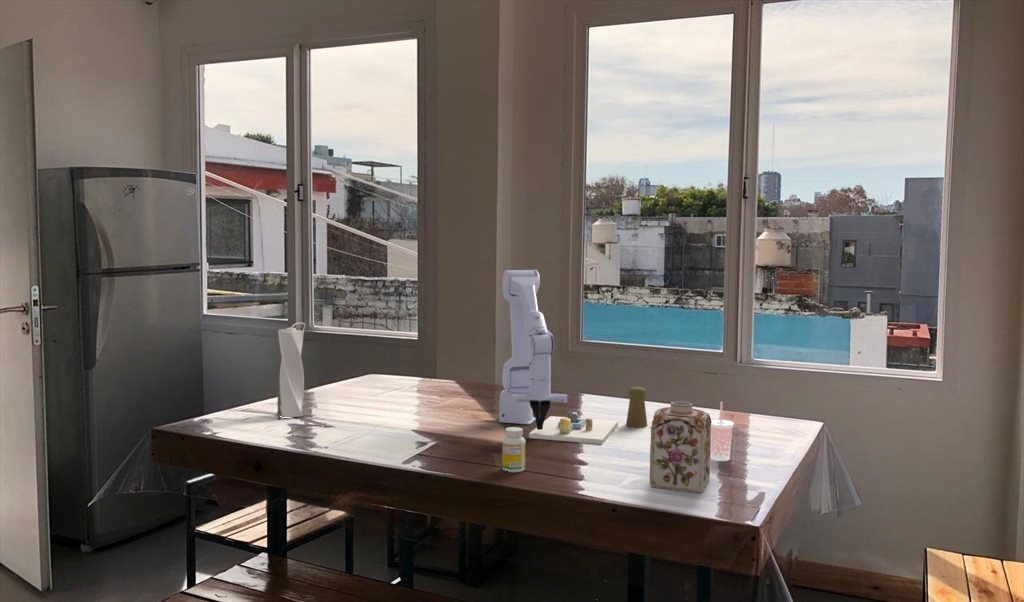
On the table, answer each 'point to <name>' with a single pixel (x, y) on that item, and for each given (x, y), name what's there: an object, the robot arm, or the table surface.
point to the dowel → (589, 424)
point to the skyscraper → (291, 372)
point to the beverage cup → (721, 438)
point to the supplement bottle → (513, 450)
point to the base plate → (575, 431)
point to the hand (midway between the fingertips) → (539, 428)
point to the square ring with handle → (570, 424)
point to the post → (572, 416)
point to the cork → (636, 408)
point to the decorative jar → (680, 448)
